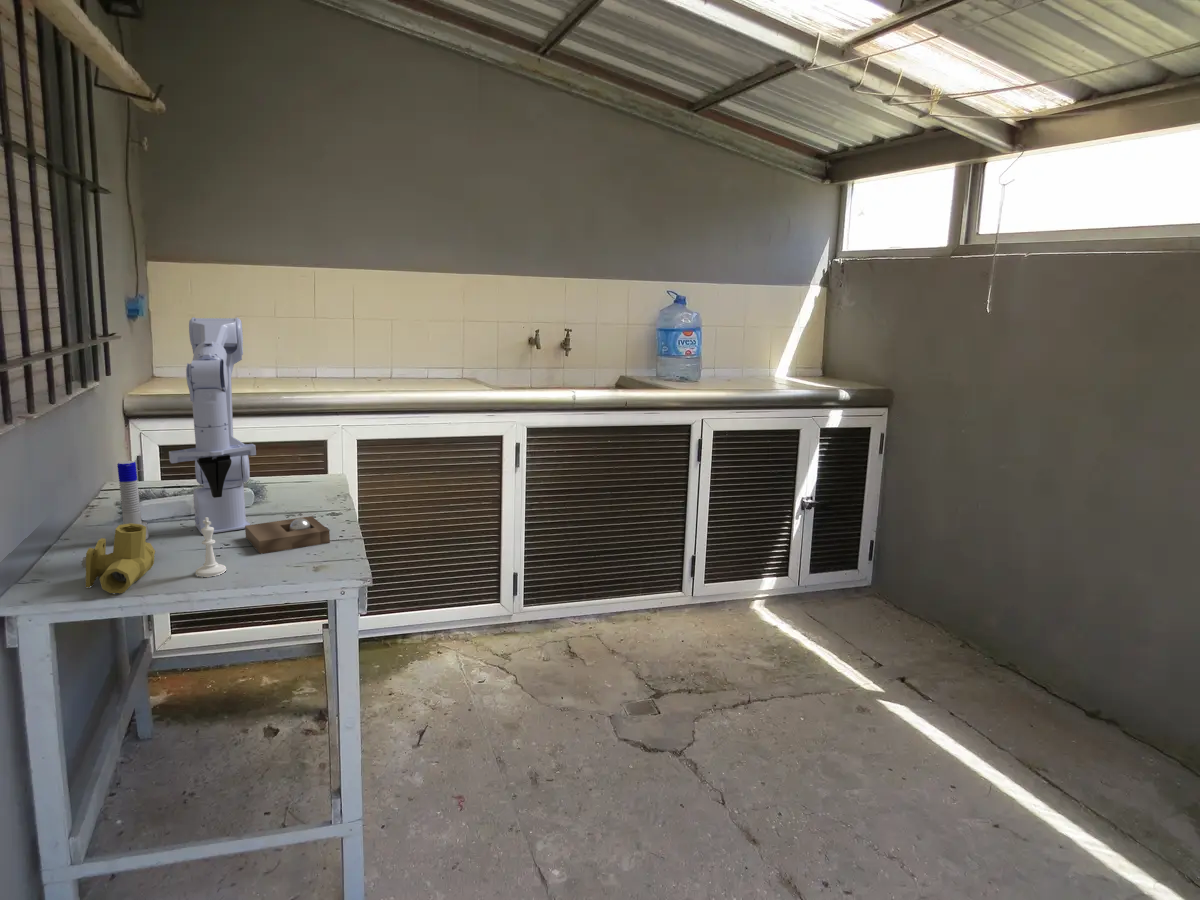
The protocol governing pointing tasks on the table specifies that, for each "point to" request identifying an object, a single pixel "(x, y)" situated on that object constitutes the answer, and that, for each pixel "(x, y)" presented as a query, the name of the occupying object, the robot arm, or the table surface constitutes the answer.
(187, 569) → the table surface
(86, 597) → the table surface
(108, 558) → the ball valve
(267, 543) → the pocket board
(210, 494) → the robot arm
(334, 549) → the table surface
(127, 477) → the bolt
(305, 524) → the steel ball
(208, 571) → the chess piece
